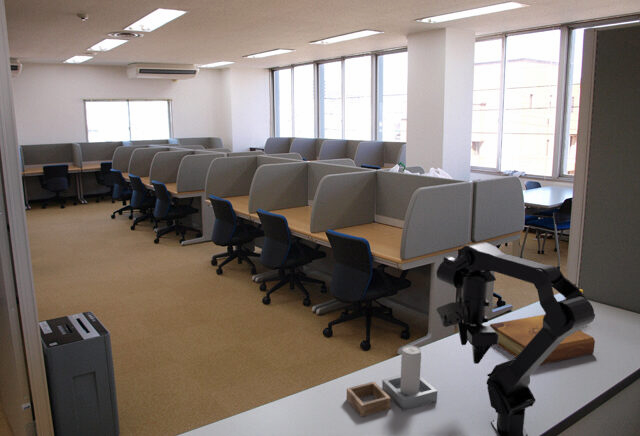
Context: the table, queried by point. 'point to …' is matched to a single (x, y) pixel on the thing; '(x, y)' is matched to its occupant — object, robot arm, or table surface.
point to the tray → (408, 402)
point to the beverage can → (410, 370)
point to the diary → (523, 331)
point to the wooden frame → (371, 406)
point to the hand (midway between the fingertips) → (469, 353)
